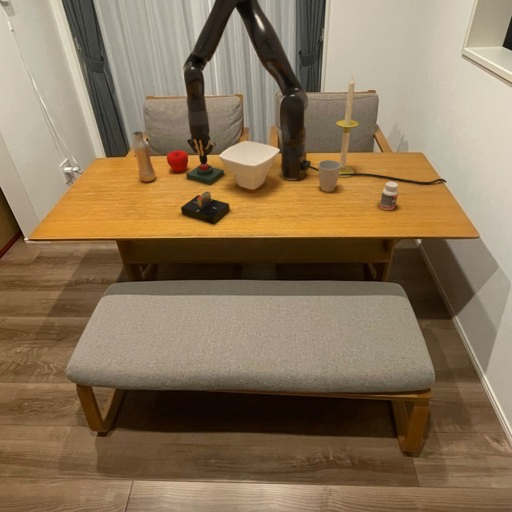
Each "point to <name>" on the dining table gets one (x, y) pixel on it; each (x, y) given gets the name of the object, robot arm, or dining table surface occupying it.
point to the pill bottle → (389, 196)
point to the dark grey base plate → (205, 175)
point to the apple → (177, 160)
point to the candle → (347, 130)
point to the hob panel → (206, 210)
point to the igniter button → (204, 166)
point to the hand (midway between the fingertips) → (203, 163)
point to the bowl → (249, 162)
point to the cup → (328, 174)
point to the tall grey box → (204, 200)
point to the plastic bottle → (143, 157)
